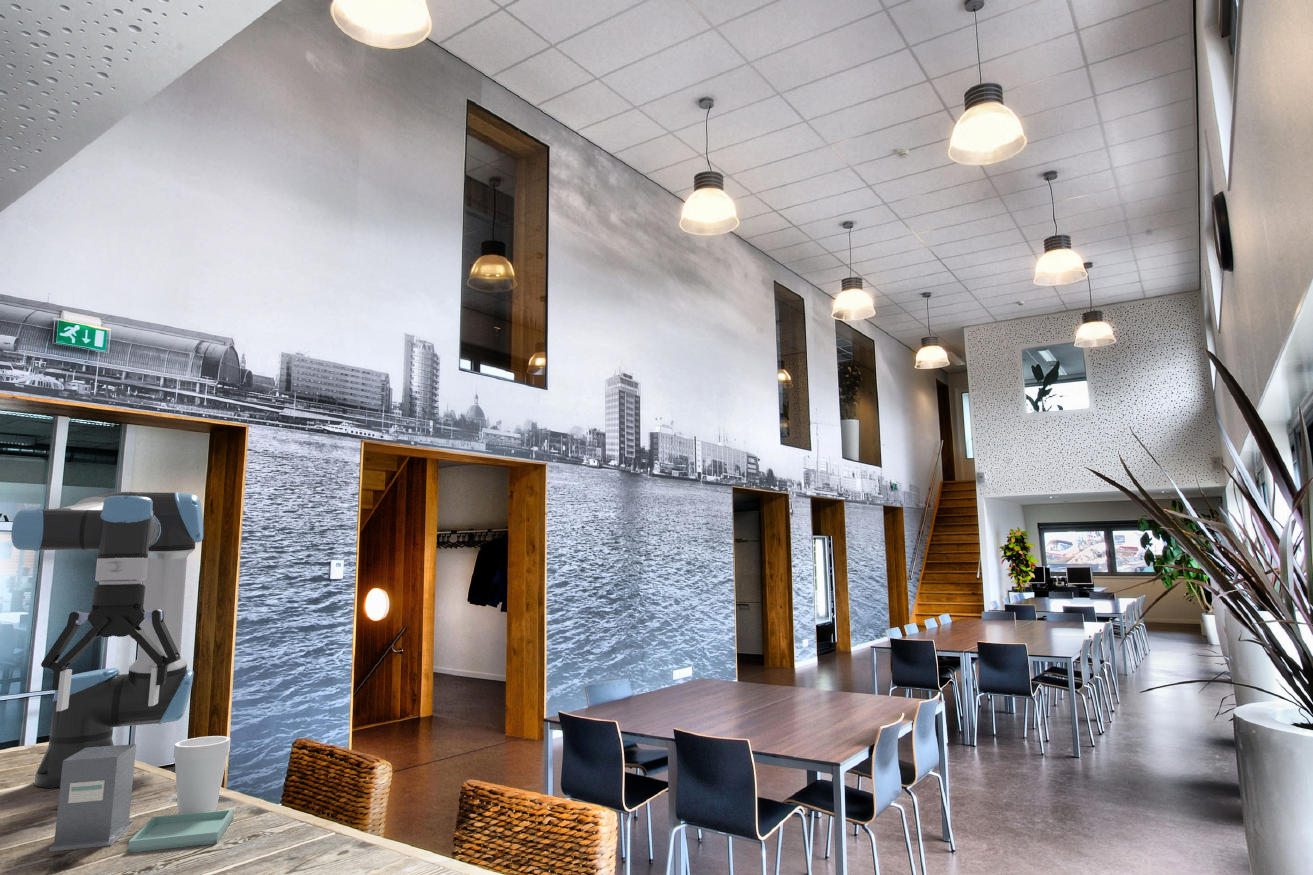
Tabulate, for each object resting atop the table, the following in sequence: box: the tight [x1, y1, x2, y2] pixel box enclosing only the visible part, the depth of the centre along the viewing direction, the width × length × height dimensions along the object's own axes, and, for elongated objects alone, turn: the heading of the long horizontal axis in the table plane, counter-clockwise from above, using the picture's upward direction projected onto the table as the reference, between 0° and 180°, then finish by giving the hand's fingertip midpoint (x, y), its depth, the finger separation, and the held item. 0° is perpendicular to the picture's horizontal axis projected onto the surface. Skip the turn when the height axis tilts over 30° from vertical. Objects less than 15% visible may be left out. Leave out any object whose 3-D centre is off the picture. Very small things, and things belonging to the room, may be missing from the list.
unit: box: [48, 743, 137, 853], centre depth 136 cm, size 11×9×14 cm
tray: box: [127, 808, 235, 854], centre depth 136 cm, size 13×13×2 cm
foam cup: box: [173, 735, 231, 815], centre depth 150 cm, size 10×9×13 cm
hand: (108, 707), depth 133 cm, fingers open, 13 cm apart
